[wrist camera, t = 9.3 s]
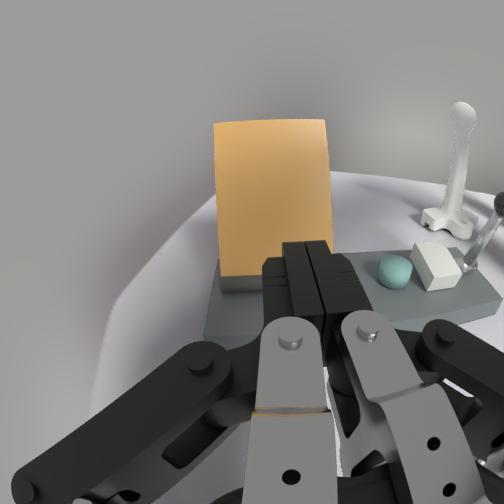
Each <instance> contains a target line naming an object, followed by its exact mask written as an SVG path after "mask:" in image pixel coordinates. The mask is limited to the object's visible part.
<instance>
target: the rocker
mask: <svg viewBox="0 0 504 504" xmlns="http://www.w3.org/2000/svg"><path fill="white" fill-rule="evenodd" d="M409 257H410V258H411V260H412V262H413V264H414V266H415V268H416V270H417V272H418V274H419V276H420V278H421V280H422V282H423V285H424V287H425V289H426V291H432V290H439V289H446V288H452V287H455V286H456V284H457V282H458V281H459V279H460V278H461V276H462V272H461V270H460V269H459V267H458V265H457V263H456V262H455V260H454V259H453V257H452V255H451V254H450V252H449V250H448V249H447V247H446V246H445V244H444V243H443V241H439V242H415V244H414V246H413V249H412V251H411V254H410V256H409Z"/></svg>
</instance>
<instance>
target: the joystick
mask: <svg viewBox="0 0 504 504" xmlns="http://www.w3.org/2000/svg"><path fill="white" fill-rule="evenodd" d="M450 116H451V120H452V122H453V123H454V126H455V129H456V135H455V143H454V150H453V157H452V163H451V168H450V173H449V179H448V183H447V188H446V192H445V196H444V201H443V205H442V207H434V208H427V209H423V213H422V218H421V225H423V226H426V225H429V228H430V229H431V230H433V231H436V230H439V229H441V228H445V229H448V230H449V231H450V232H451V234H452V235H453V236H454V237H456V238H458V239H461V240H467V239H470V238H471V236H472V232H473V229H476V227H477V223H478V219H479V218H478V217H477V216H475V215H474V214H472V213H471V212H470V211H468V210H465V209H462V203H463V197H464V190H465V183H466V174H467V164H468V151H469V135H470V132H471V130H472V129H473V128H474V127H475V125H476V123H477V116H476V113H475V111H474V109H473V108H472V107H471V106H470V105H469V104H467V103H465V102H457V103H455V104H454V105H453V106H452V108H451V111H450Z"/></svg>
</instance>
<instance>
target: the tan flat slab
mask: <svg viewBox="0 0 504 504" xmlns="http://www.w3.org/2000/svg"><path fill="white" fill-rule="evenodd" d="M214 151H215V152H214V153H215V180H216V203H217V222H218V239H219V255H220V270H221V273H220V290H221V292H248V291H263V286H262V265H263V264H264V262H265V261H266V259H267V258H268V257H282V242H295V241H303V242H304V241H313V240H325V241H326V242H327V245H328V247H329V249H330V251H331V254H333V221H332V199H331V182H330V170H329V157H328V146H327V136H326V127H325V120H315V119H314V120H313V119H278V120H277V119H275V120H251V121H235V122H223V123H214Z"/></svg>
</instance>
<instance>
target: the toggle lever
mask: <svg viewBox="0 0 504 504" xmlns="http://www.w3.org/2000/svg"><path fill="white" fill-rule="evenodd" d="M494 208H495V209H494V211H493V213H492V215H491V216H490V218H489V220H488V221H487V223H486V225H485V226H484V228H483V229H482V231H481V232H480V234H479V236H478V237H477V239H476V240H475V242H474V243H473V245H472V246H471V248H470V249H469V250H468V252H467V253H466V255H465V256H464V258H456V259H454V260H455V262H456V263H457V265H458V267H459V269H460V270H461V272H462V274H464V273H472V272H475V271H476V270H477V267H478V263H477V260H476V258H477V257H478V256H479V254H480V253H481V251H482V250H483V249H484V247H485V246H486V244H487V243H488V242H489V240H490V239H491V237H492V236H493V234H494V233H495V231H496V230H497V228H498V227H499V225H500V223H501V222H502V220H503V219H504V192H500V193H498V194H497V195H496V197H495V199H494Z"/></svg>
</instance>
